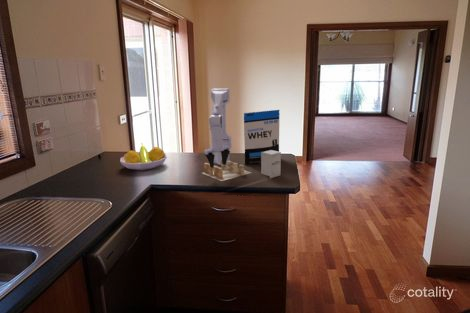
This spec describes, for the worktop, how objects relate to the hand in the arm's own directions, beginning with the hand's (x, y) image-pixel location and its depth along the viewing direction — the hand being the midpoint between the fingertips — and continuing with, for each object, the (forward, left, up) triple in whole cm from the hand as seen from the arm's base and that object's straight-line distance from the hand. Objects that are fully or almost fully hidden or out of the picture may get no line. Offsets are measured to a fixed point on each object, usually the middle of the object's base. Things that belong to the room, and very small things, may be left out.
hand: (218, 165), depth 169 cm
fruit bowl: (-49, -18, -7) cm, 52 cm away
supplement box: (+14, +23, -7) cm, 28 cm away
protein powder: (-8, +38, -7) cm, 40 cm away
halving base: (-3, +7, -7) cm, 10 cm away
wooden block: (-5, 0, -6) cm, 7 cm away
